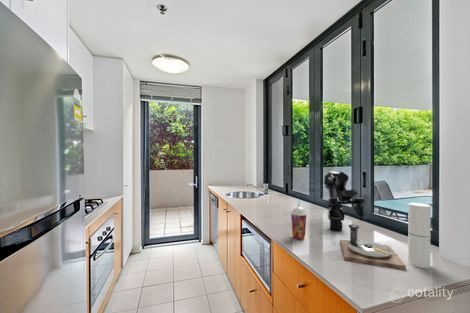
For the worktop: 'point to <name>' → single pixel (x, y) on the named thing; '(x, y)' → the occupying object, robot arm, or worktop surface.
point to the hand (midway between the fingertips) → (351, 217)
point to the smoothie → (298, 222)
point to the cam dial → (366, 246)
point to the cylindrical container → (419, 234)
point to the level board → (387, 262)
